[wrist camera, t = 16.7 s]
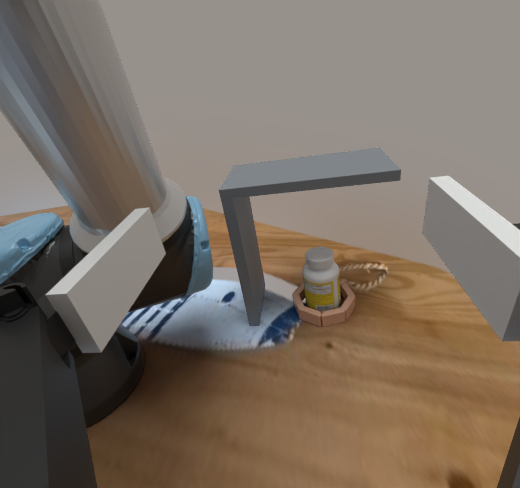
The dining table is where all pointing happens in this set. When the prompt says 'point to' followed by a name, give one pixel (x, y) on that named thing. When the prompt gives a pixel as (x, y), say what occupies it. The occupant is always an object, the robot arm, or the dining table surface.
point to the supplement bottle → (321, 280)
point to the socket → (326, 316)
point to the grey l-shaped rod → (280, 181)
